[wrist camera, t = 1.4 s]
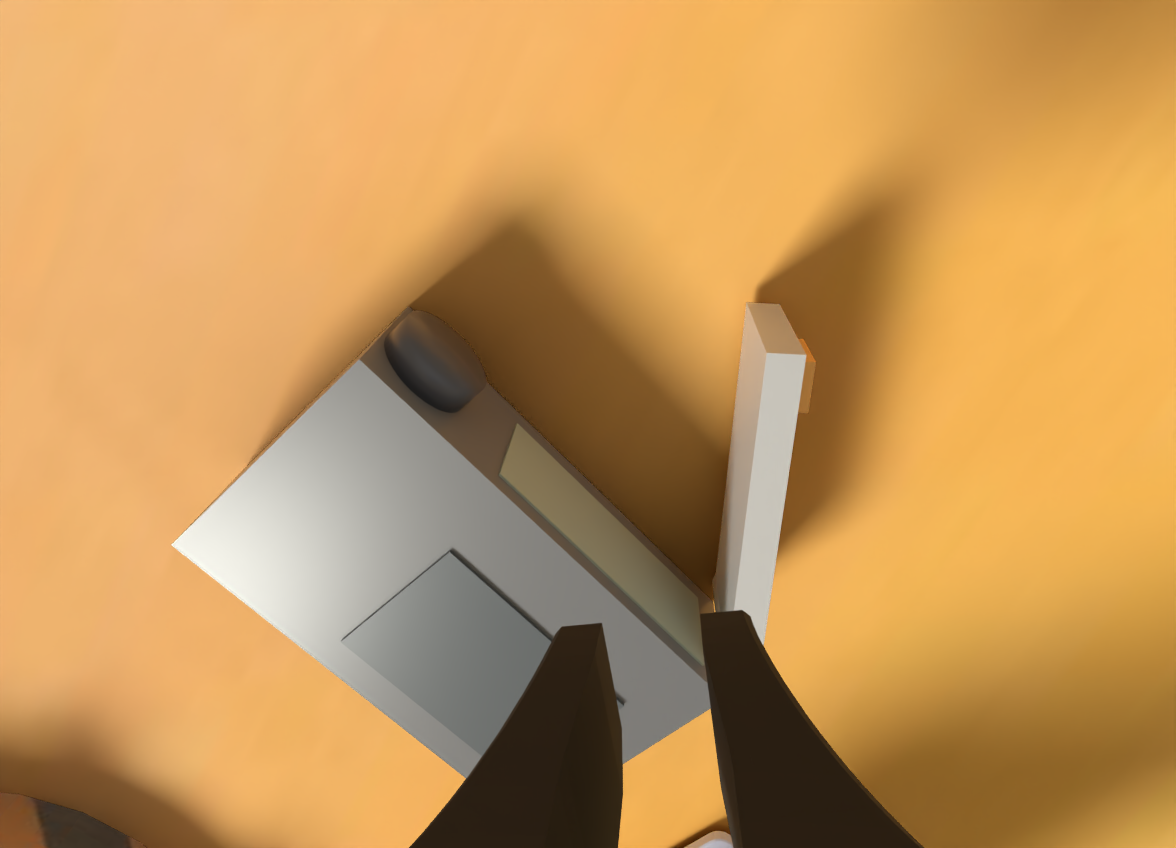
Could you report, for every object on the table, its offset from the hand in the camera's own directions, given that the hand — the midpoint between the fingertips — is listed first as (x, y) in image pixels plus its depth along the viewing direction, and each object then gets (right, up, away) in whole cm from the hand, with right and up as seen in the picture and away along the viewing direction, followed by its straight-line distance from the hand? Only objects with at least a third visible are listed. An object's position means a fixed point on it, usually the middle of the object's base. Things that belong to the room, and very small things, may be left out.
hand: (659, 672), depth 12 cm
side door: (+3, +3, +10) cm, 11 cm away
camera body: (-4, 0, +12) cm, 12 cm away
